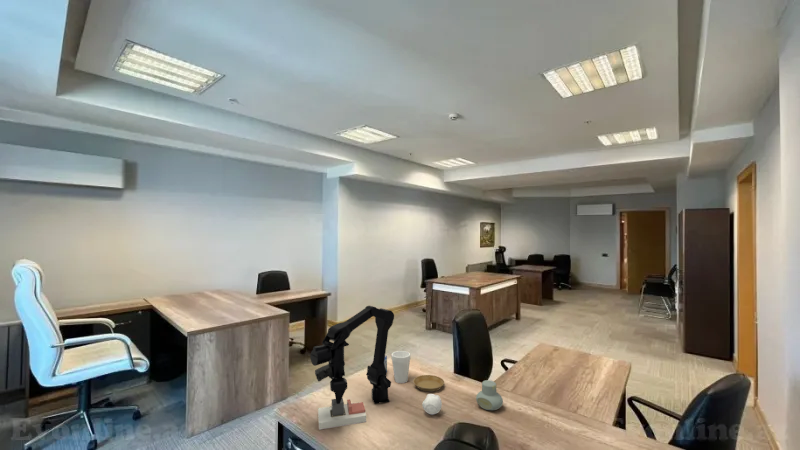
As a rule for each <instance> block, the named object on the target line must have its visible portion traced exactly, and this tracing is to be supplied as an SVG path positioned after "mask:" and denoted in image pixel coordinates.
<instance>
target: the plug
mask: <svg viewBox="0 0 800 450" xmlns="http://www.w3.org/2000/svg"><path fill="white" fill-rule="evenodd" d="M344 404H345V401H344V398H343V397H342V399H341V402H340V404H337V402H336V398H332V399H331V406H332V416H331V417H337V416H343V415H345V414H344Z"/></svg>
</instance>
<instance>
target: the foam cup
mask: <svg viewBox="0 0 800 450" xmlns="http://www.w3.org/2000/svg"><path fill="white" fill-rule="evenodd" d="M390 356H391V362H392V370H393V377H394V382H395V383H397V384H405V383H407V382H408V379H409V371H410V360H411V353H410V352H409V351H406V350H397V351H393V352H392V353H391V355H390Z"/></svg>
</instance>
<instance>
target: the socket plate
mask: <svg viewBox="0 0 800 450" xmlns="http://www.w3.org/2000/svg"><path fill="white" fill-rule="evenodd" d="M360 402H361V401H359V402H357V403H360ZM353 403H354V402H351V404H353ZM317 420H318V430H325V429H331V428H338V427H343V426H345V427H346V426H350V425H354V424H355V425H356V424H362V423H366V422H367V413H366V412H362V413H356V414H349V412H348V407H347V403H346V404H345V403H344V415H343V416H337V417H332V405H331V406H323V407H319V408H317Z"/></svg>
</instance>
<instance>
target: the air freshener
mask: <svg viewBox="0 0 800 450" xmlns="http://www.w3.org/2000/svg"><path fill="white" fill-rule="evenodd" d="M475 400H476V403H477V405H478V406H479V407H480V408H482V409H484V410H485V411H496V410H498V409H500V408H501V407H502V406H503V403H504V398H503V397H502V395H501V394H500V393H499V392H498V391H497V383H496V382H495V381H492V380H489V379H488V380H487V379H486V380H483V381H482V382H481V391H479V392H477V394H476V396H475Z"/></svg>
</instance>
